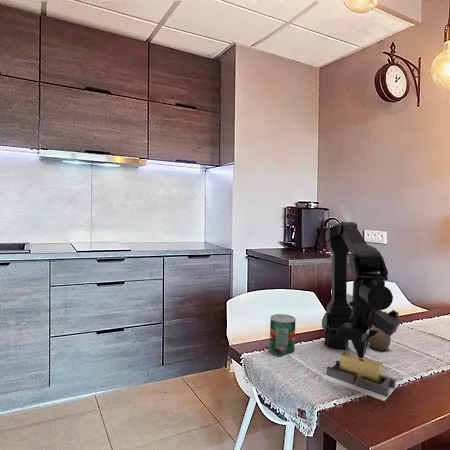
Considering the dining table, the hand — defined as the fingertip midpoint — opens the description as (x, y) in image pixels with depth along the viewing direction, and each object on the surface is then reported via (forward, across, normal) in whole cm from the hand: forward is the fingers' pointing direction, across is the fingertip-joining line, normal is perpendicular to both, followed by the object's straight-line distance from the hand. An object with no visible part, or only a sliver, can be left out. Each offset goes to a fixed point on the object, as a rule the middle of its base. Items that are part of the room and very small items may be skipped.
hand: (361, 357), depth 94 cm
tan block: (+6, 0, 0) cm, 6 cm away
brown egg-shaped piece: (+8, +29, +5) cm, 30 cm away
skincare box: (+8, +35, +16) cm, 39 cm away
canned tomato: (+8, +3, +26) cm, 27 cm away
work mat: (+7, 0, 0) cm, 7 cm away
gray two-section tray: (+6, 0, 0) cm, 6 cm away
